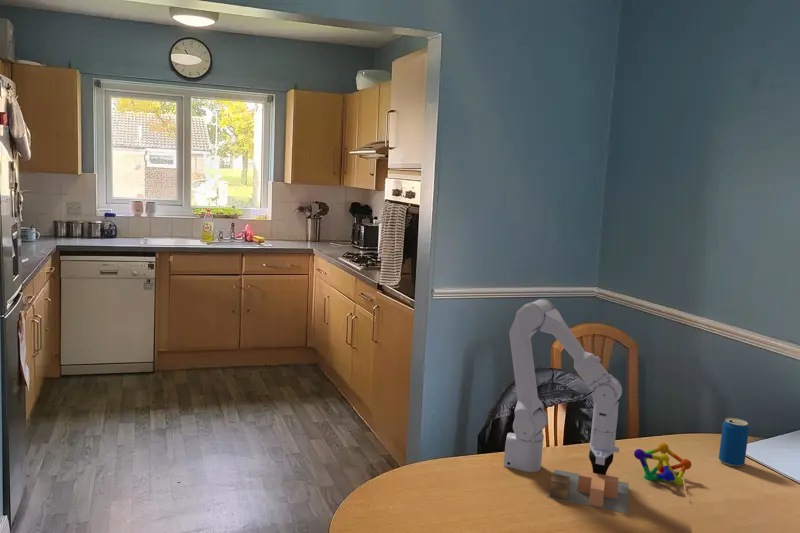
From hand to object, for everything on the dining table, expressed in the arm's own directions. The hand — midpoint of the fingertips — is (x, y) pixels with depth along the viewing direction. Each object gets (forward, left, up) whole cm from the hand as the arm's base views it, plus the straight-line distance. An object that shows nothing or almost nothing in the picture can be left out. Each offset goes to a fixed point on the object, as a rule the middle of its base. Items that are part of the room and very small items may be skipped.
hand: (598, 481), depth 166 cm
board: (-2, -4, -2) cm, 5 cm away
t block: (0, -7, -1) cm, 7 cm away
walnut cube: (-8, -10, -1) cm, 13 cm away
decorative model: (+15, +13, -2) cm, 20 cm away
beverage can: (+34, +34, -2) cm, 48 cm away
